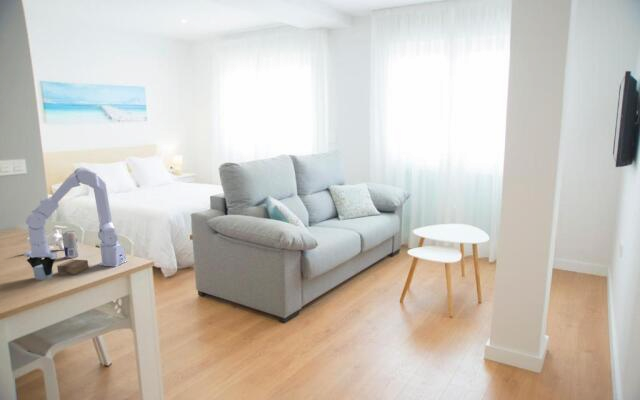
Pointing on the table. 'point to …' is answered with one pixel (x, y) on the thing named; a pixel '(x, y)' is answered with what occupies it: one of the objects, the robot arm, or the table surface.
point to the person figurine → (53, 239)
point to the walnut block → (72, 267)
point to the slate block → (41, 273)
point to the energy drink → (70, 244)
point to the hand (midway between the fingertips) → (43, 274)
